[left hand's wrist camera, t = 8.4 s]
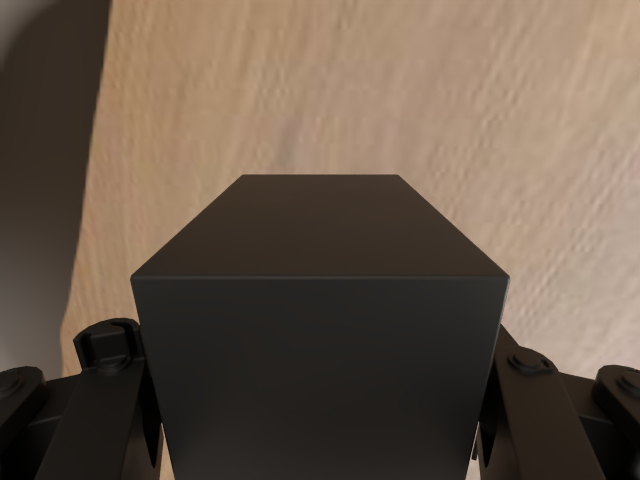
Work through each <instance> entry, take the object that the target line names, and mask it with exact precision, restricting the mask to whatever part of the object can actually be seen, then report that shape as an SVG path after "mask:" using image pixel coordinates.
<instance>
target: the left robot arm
mask: <svg viewBox="0 0 640 480" xmlns="http://www.w3.org/2000/svg"><path fill="white" fill-rule="evenodd" d="M73 342H74V346H75V349H76V352H77V355H78V358H79V362H80V365H81V368H82V372H81V374H77V375H73V376H69V377H64V378H60V379H55V380H50V381H46V380H45V378H44V375H43V372H42V371H41V370H40V369H38V368H37V367H29V366H25V367H18V368H13V369H9V370H7V371H3V372H0V480H159V478H160V468H161V459H162V450H163V440H164V436H163V430H162V426H161V423H162V420H161V415H160V411H159V406H158V402H157V397H156V393H155V388H154V384H153V380H152V375H151V371H150V366H149V362H148V357H147V353H146V348H145V344H144V339H143V335H142V330H141V326H140V325H139V324H138V323H137V322H136V321H135V320H133V319H129V318H113V319H109V320H105V321H101V322H98V323H96V324H94V325H91V326H89V327H87V328H86V329H84V330H83V331H81V332H80V333H79V334H78V335H77V336H76V337H75V338H74V339H73ZM477 455H478V458H479V467H480V477H481V480H640V370H637V369H634V368H630V367H626V366H619V365H606V366H603V367H602V368H600V369H599V370H598V373H597V376H596V379H595V380H593V379H588V378H583V377H579V376H574V375H569V374H565V373H561V372H559V371H558V369H557V368H556V366H555V365H554V364H553V362H552V361H550V360H549V359H548V358H546V357H545V356H544V355H542V354H540V353H538V352H536V351H534V350H532V349H529V348H525V347H521V346H519V345H518V344H517V342H516V341H515V340H514V339H513V338H512V336H511V335H510V334H509V333H508V332H507V330H506V329H505V328H504V327H503V325H502V324H500V328H499V332H498V337H497V341H496V346H495V350H494V355H493V359H492V363H491V368H490V372H489V377H488V381H487V386H486V390H485V395H484V399H483V403H482V408H481V412H480V417H479V426H478V430H477V435H476V439H475V443H474V448H473V452H472V460H476V459H477Z"/></svg>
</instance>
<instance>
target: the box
mask: <svg viewBox="0 0 640 480" xmlns="http://www.w3.org/2000/svg"><path fill="white" fill-rule="evenodd" d="M130 281H131V286H132V290H133V295H134V299H135V304H136V308H137V313H138V317H139V322H140V326H141V330H142V335H143V339H144V344H145V348H146V353H147V357H148V362H149V366H150V371H151V375H152V380H153V384H154V388H155V393H156V397H157V402H158V406H159V411H160V415H161V420H162V424H163V429H164V433H165V438H166V442H167V447H168V451H169V455H170V460H171V464H172V469H173V473H174V478H175V480H465V479H466V474H467V470H468V466H469V461H470V457H471V452H472V448H473V443H474V439H475V434H476V430H477V426H478V421H479V417H480V412H481V408H482V403H483V399H484V395H485V390H486V386H487V381H488V377H489V372H490V368H491V363H492V359H493V355H494V350H495V346H496V341H497V337H498V332H499V328H500V324H501V319H502V315H503V310H504V306H505V301H506V297H507V292H508V288H509V284H510V277H509V275H508V274H507V273H506V272H505V271H503V270H502V269H501V268H500V267H499V266H498V265H497V264H496V263H495V262H494V261H492V260H491V259H490V258H489V257H488V256H487V255H486V254H485V253H484V252H483V251H481V250H480V249H479V248H478V247H477V246H476V245H475V244H474V243H473V242H472V241H470V240H469V239H468V238H467V237H466V236H465V235H464V234H463V233H462V232H461V231H459V230H458V229H457V228H456V227H455V226H454V225H453V224H452V223H451V222H450V221H448V220H447V219H446V218H445V217H444V216H443V215H442V214H441V213H440V212H438V211H437V210H436V209H435V208H434V207H433V206H432V205H431V204H430V203H429V202H427V201H426V200H425V199H424V198H423V197H422V196H421V195H420V194H419V193H418V192H416V191H415V190H414V189H413V188H412V187H411V186H410V185H409V184H408V183H407V182H405V181H404V180H403V179H402V178H401V177H400V176H399V175H241V176H240V177H239V178H238V179H237V180H236V181H235V182H234V183H233V184H232V185H230V186H229V187H228V188H227V189H226V190H225V191H224V192H223V193H222V194H221V195H219V196H218V197H217V198H216V199H215V200H214V201H213V202H212V203H211V204H210V205H208V206H207V207H206V208H205V209H204V210H203V211H202V212H201V213H200V214H199V215H197V216H196V217H195V218H194V219H193V220H192V221H191V222H190V223H189V224H187V225H186V226H185V227H184V228H183V229H182V230H181V231H180V232H179V233H178V234H176V235H175V236H174V237H173V238H172V239H171V240H170V241H169V242H168V243H167V244H165V245H164V246H163V247H162V248H161V249H160V250H159V251H158V252H157V253H156V254H154V255H153V256H152V257H151V258H150V259H149V260H148V261H147V262H146V263H144V264H143V265H142V266H141V267H140V268H139V269H138V270H137V271H136V272H135V273H133V274H132V275H131V278H130Z"/></svg>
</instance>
